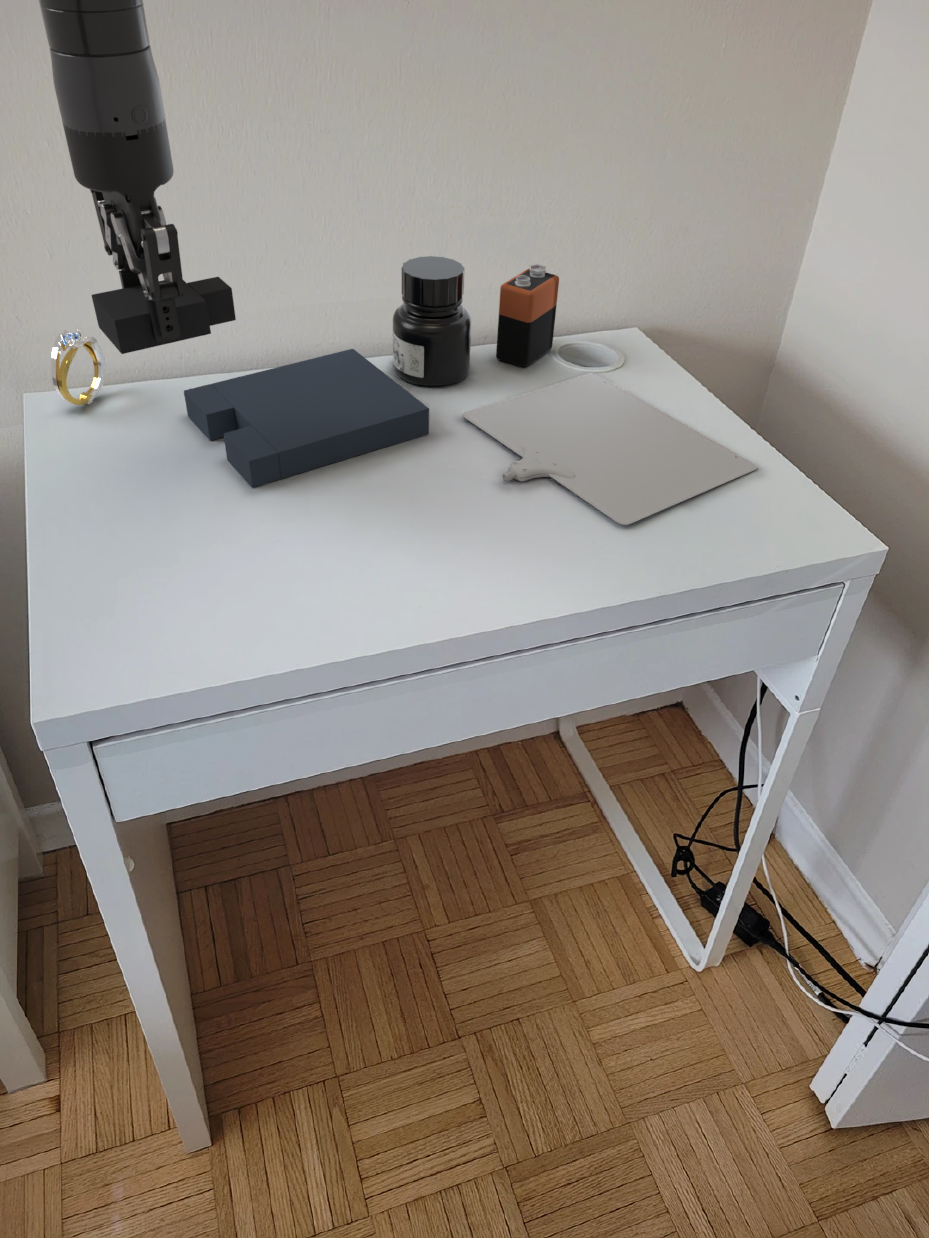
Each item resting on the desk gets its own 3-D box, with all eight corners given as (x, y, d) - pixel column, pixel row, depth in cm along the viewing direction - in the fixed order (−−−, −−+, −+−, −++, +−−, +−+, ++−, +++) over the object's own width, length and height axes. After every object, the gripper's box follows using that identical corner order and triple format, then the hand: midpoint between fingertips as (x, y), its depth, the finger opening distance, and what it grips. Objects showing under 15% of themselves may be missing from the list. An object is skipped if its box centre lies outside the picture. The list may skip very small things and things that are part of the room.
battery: (553, 349, 116) (562, 267, 109) (525, 369, 111) (533, 286, 105) (522, 340, 117) (529, 259, 111) (494, 359, 113) (499, 276, 106)
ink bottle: (388, 353, 113) (386, 252, 105) (460, 350, 114) (464, 250, 107) (399, 392, 106) (398, 286, 98) (476, 388, 107) (482, 283, 99)
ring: (76, 420, 99) (58, 348, 93) (52, 413, 99) (32, 341, 94) (121, 392, 103) (105, 322, 98) (97, 386, 104) (81, 316, 99)
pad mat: (252, 488, 90) (248, 461, 88) (187, 416, 100) (183, 390, 98) (429, 434, 99) (429, 408, 97) (354, 372, 109) (352, 348, 107)
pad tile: (121, 354, 80) (114, 320, 78) (98, 327, 84) (91, 294, 82) (243, 326, 85) (238, 294, 83) (216, 302, 88) (211, 270, 86)
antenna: (429, 428, 100) (429, 418, 99) (591, 377, 112) (593, 367, 111) (591, 545, 85) (593, 535, 85) (758, 472, 97) (761, 462, 96)
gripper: (36, 98, 75) (85, 303, 86) (94, 145, 66) (140, 368, 77) (129, 88, 78) (165, 287, 89) (196, 132, 69) (227, 347, 80)
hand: (153, 324), depth 83 cm, fingers closed on pad tile, 6 cm apart
